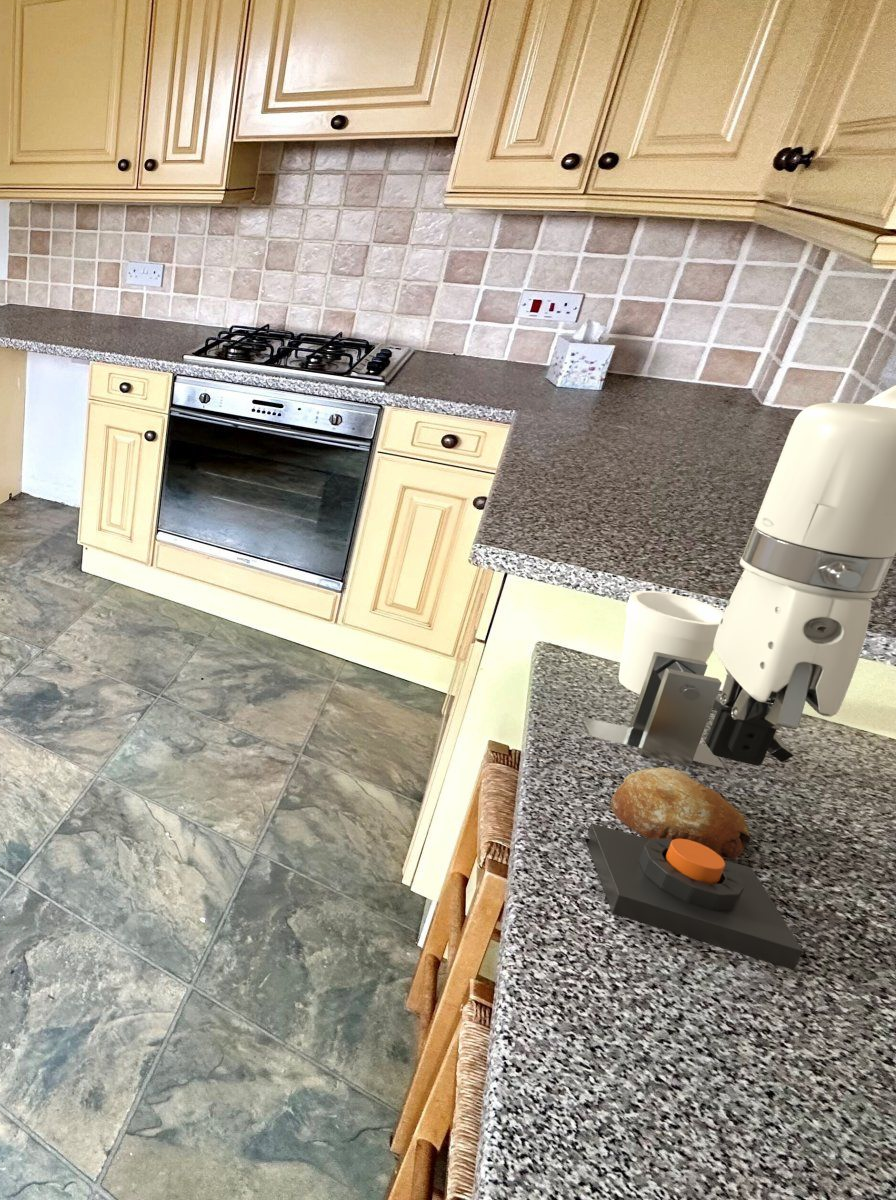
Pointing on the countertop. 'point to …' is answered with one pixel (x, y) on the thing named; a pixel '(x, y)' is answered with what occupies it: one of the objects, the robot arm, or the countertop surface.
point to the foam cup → (664, 632)
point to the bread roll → (679, 811)
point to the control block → (690, 898)
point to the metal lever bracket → (668, 714)
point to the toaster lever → (776, 746)
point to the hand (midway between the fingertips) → (731, 755)
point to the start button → (695, 860)
